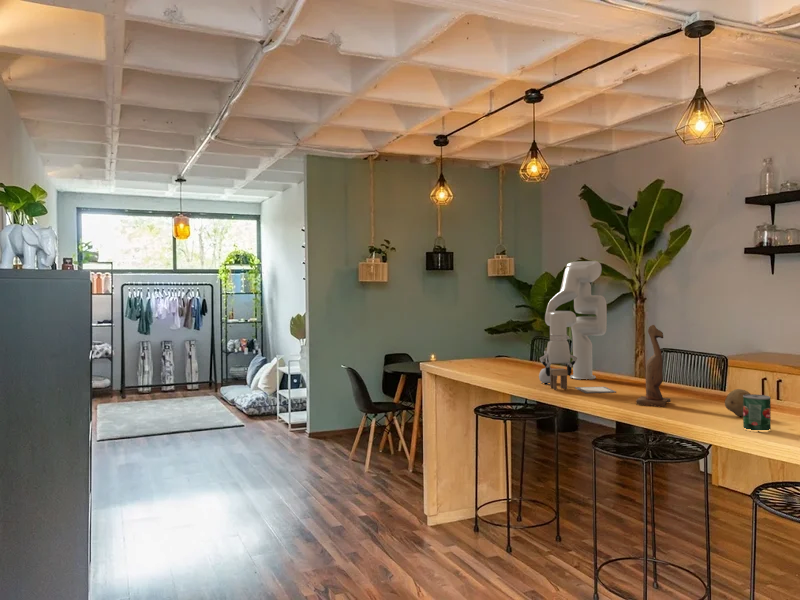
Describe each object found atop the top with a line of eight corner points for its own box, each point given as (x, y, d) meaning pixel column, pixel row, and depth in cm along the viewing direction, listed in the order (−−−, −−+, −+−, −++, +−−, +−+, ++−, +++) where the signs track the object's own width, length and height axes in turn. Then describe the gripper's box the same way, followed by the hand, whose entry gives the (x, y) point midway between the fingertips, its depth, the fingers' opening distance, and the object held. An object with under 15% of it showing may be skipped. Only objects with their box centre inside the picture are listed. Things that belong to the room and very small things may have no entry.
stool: (549, 387, 297) (549, 368, 296) (563, 387, 297) (563, 368, 297) (553, 390, 290) (553, 370, 290) (567, 389, 291) (567, 370, 290)
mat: (575, 388, 295) (575, 387, 295) (604, 387, 296) (604, 386, 296) (585, 393, 281) (585, 392, 281) (616, 392, 282) (616, 391, 282)
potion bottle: (559, 384, 306) (559, 347, 306) (541, 384, 306) (540, 347, 306) (555, 381, 315) (554, 345, 315) (537, 382, 315) (536, 345, 315)
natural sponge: (729, 419, 224) (729, 390, 224) (721, 413, 233) (721, 386, 233) (757, 419, 223) (757, 391, 223) (748, 414, 232) (748, 387, 231)
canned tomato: (774, 432, 203) (774, 398, 203) (748, 432, 204) (748, 398, 204) (765, 427, 211) (765, 394, 211) (739, 426, 212) (739, 394, 212)
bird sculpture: (667, 408, 246) (670, 326, 245) (635, 405, 252) (638, 324, 251) (670, 404, 256) (673, 324, 255) (640, 400, 262) (642, 323, 261)
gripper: (574, 337, 297) (574, 374, 298) (537, 338, 296) (537, 374, 297) (579, 339, 290) (579, 376, 290) (542, 339, 289) (542, 377, 289)
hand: (558, 375), depth 293 cm, fingers open, 9 cm apart
